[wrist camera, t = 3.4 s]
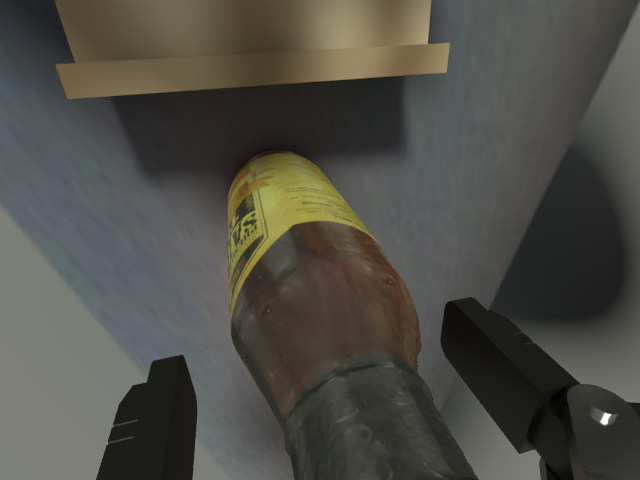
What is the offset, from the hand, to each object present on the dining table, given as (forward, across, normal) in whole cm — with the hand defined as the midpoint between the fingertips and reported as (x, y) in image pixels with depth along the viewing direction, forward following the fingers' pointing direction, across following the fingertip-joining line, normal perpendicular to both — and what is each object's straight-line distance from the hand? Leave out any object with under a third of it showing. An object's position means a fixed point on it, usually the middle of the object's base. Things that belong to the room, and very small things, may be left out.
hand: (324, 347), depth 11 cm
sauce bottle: (+14, 0, 0) cm, 14 cm away
